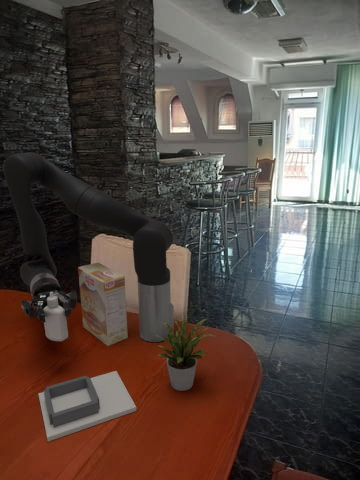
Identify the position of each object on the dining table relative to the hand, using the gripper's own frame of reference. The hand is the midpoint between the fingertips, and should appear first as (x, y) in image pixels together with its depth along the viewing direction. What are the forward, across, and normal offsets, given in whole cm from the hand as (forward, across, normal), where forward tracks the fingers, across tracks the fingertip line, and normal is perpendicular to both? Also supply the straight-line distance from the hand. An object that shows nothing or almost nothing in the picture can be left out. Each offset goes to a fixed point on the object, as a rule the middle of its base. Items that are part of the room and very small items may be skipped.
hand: (55, 316), depth 86 cm
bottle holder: (+13, +3, +16) cm, 21 cm away
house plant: (+17, +26, +16) cm, 35 cm away
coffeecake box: (-15, +15, +16) cm, 26 cm away
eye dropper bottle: (-3, 0, +7) cm, 8 cm away
